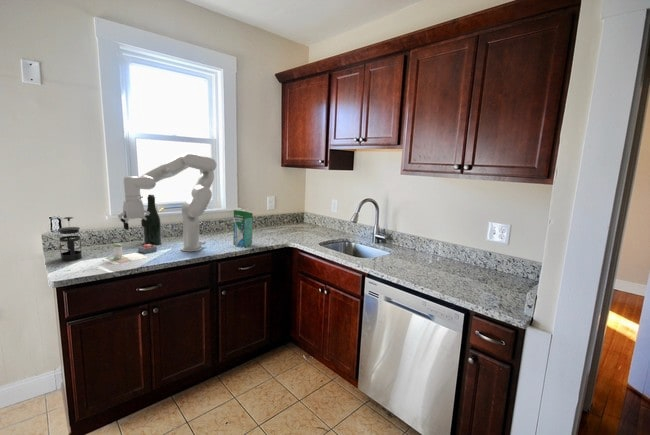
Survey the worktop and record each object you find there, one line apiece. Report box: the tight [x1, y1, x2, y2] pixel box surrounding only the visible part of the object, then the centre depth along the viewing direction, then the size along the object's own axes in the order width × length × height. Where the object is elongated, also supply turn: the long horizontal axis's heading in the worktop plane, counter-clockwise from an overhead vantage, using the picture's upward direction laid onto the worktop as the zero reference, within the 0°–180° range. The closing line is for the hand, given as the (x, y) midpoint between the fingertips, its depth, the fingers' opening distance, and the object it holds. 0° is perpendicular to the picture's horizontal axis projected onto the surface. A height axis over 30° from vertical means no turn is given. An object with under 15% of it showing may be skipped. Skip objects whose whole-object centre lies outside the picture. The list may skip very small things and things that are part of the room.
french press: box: [58, 216, 83, 262], centre depth 171 cm, size 12×9×23 cm
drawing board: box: [101, 252, 149, 265], centre depth 176 cm, size 20×16×1 cm
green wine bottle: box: [142, 194, 162, 246], centre depth 210 cm, size 10×10×33 cm
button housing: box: [137, 245, 158, 254], centre depth 191 cm, size 7×7×4 cm
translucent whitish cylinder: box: [112, 242, 123, 259], centre depth 174 cm, size 4×4×8 cm
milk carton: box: [232, 209, 254, 248], centre depth 218 cm, size 9×9×25 cm
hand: (135, 228), depth 182 cm, fingers open, 9 cm apart
